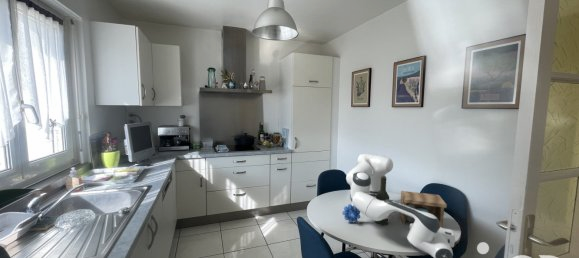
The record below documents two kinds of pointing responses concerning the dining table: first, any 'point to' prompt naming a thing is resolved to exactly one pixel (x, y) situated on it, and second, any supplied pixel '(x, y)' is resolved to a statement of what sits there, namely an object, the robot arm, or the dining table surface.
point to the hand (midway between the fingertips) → (427, 225)
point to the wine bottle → (382, 198)
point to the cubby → (424, 204)
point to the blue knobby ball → (351, 213)
